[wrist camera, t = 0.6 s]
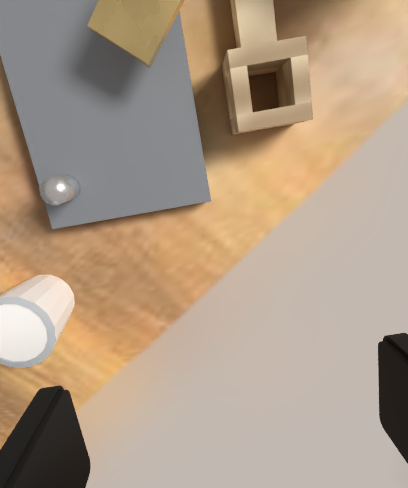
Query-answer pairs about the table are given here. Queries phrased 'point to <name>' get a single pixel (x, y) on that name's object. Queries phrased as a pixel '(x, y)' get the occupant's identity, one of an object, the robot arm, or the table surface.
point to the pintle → (59, 189)
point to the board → (102, 113)
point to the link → (265, 69)
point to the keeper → (135, 25)
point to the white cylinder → (33, 320)
